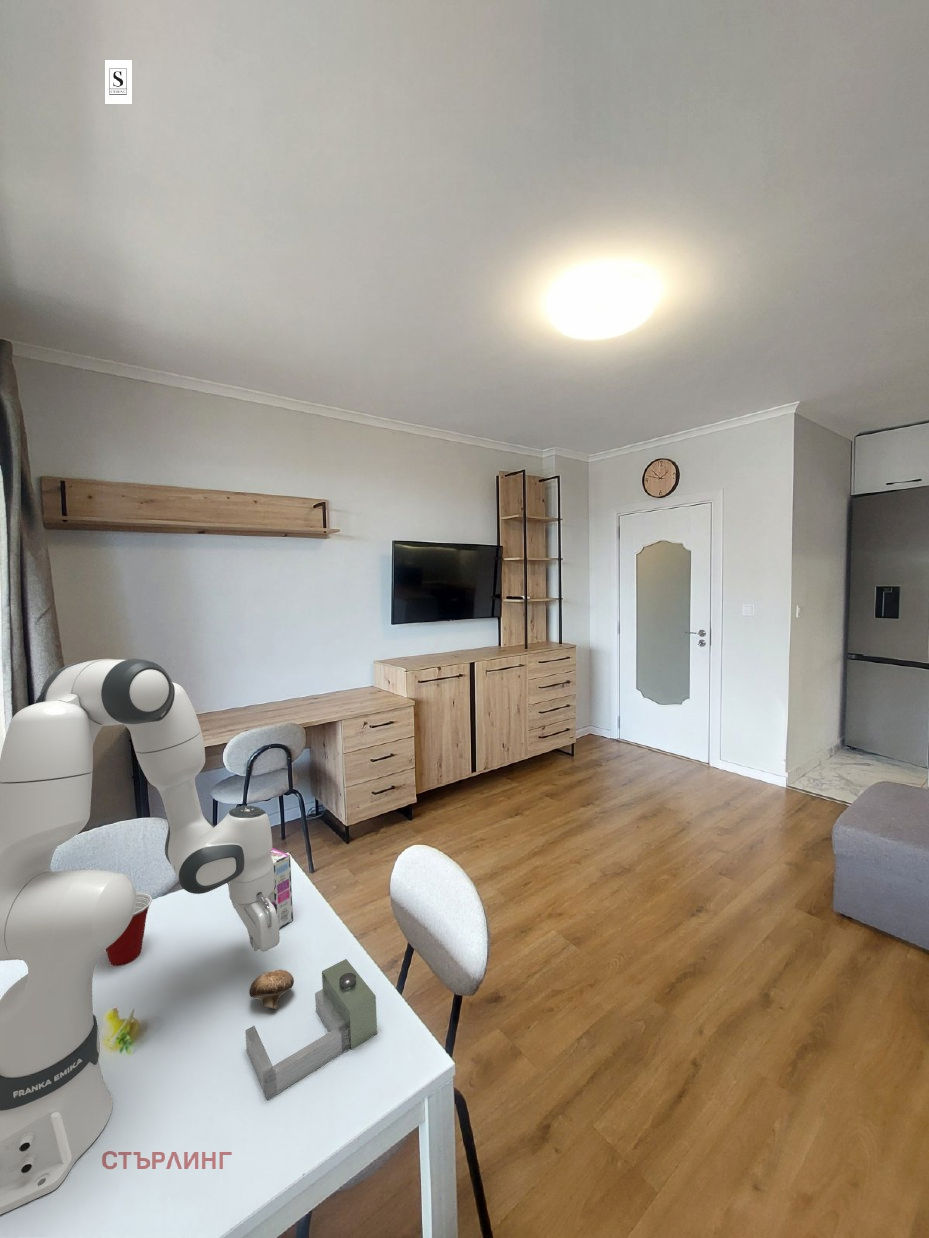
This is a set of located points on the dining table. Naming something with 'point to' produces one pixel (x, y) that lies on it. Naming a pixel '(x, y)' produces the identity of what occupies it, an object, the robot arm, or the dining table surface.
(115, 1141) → the dining table surface
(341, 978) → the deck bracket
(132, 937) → the plastic cup
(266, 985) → the mushroom
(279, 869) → the candy bar box
